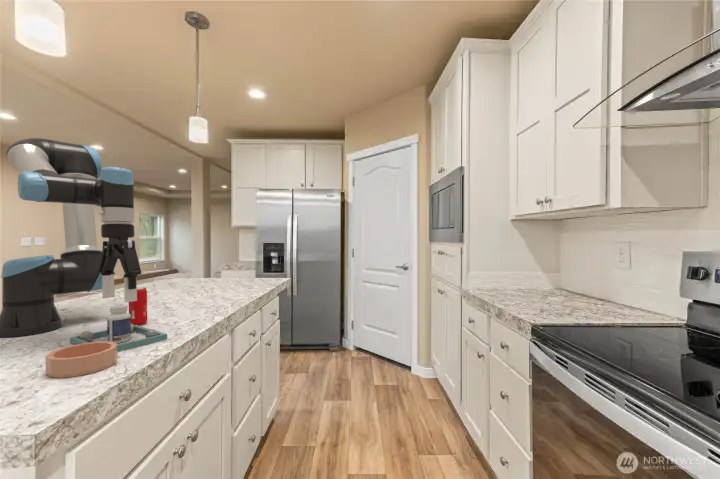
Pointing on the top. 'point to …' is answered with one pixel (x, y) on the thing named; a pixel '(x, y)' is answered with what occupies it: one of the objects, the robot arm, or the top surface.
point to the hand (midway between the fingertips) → (119, 299)
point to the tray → (128, 345)
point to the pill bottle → (118, 324)
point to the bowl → (81, 359)
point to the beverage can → (139, 308)
